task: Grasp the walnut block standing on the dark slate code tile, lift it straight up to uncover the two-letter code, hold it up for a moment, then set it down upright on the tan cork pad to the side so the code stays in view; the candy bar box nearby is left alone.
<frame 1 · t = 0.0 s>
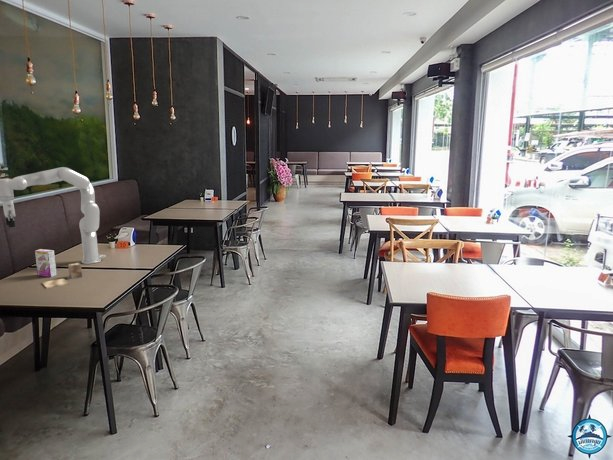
hand: (10, 225, 297), 31 cm above the table, tool pointing down, fingers open, 9 cm apart
walnut block: (75, 276, 296), resting on code tile
code tile: (75, 277, 296), on the table
candy bar box: (47, 276, 299), on the table
cork pad: (55, 283, 282), on the table
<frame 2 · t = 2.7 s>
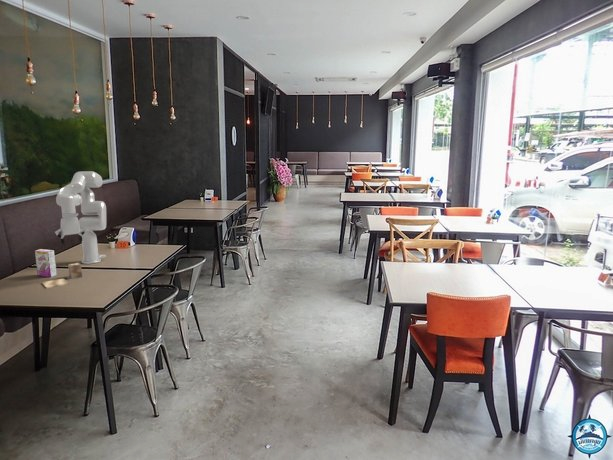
hand: (72, 243, 291), 21 cm above the table, tool pointing down, fingers open, 9 cm apart
nothing on the table moved.
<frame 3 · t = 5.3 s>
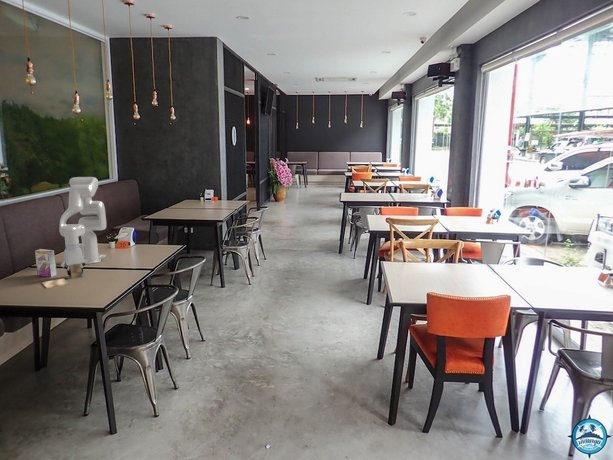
hand: (75, 274, 295), 2 cm above the table, tool pointing down, fingers closed on walnut block, 6 cm apart
walnut block: (75, 276, 296), resting on code tile, touching gripper
everything else where it was.
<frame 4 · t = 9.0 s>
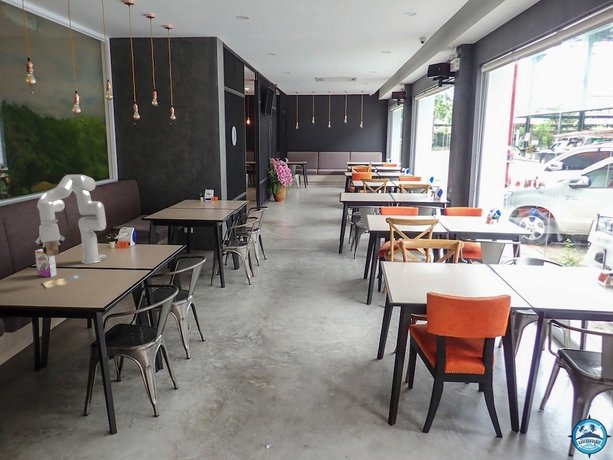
hand: (51, 252, 279), 19 cm above the table, tool pointing down, fingers closed on walnut block, 6 cm apart
walnut block: (52, 254, 279), point 18 cm above the table, touching gripper
everything else where it was.
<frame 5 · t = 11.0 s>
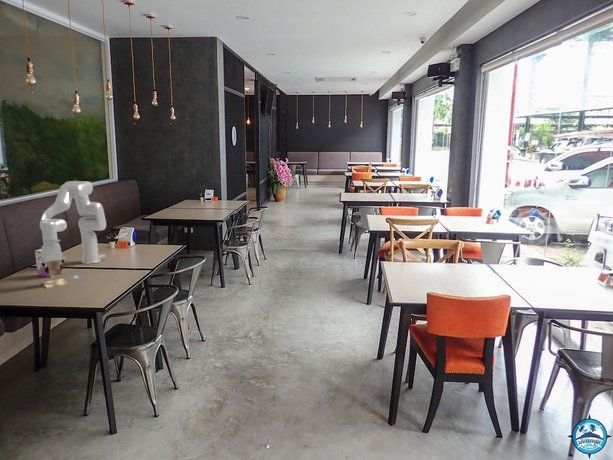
hand: (53, 271, 281), 7 cm above the table, tool pointing down, fingers closed on walnut block, 6 cm apart
walnut block: (54, 274, 281), point 6 cm above the table, touching gripper
everything else where it was.
when the fingers open (3 cm above the table, at t = 12.8 s): walnut block drops 1 cm, resting on cork pad.
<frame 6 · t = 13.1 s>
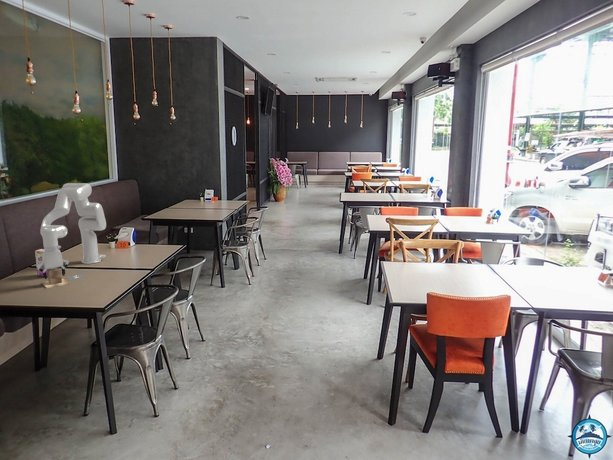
hand: (54, 277, 282), 4 cm above the table, tool pointing down, fingers open, 9 cm apart
walnut block: (55, 282, 282), point 1 cm above the table, touching cork pad
everything else where it was.
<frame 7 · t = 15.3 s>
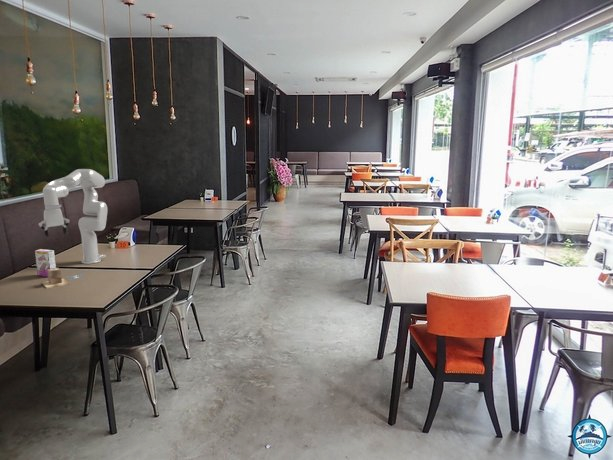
hand: (56, 235, 292), 27 cm above the table, tool pointing down, fingers open, 9 cm apart
nothing on the table moved.
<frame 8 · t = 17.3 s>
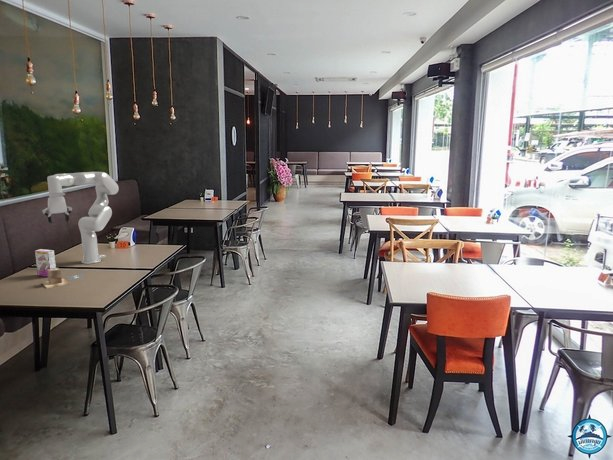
hand: (58, 221, 303), 32 cm above the table, tool pointing down, fingers open, 9 cm apart
nothing on the table moved.
at the end: walnut block inside the target area on the cork pad (0.1 cm from its centre), point 0.8 cm above the cork pad's base; walnut block tilted 0°; walnut block touching cork pad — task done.
